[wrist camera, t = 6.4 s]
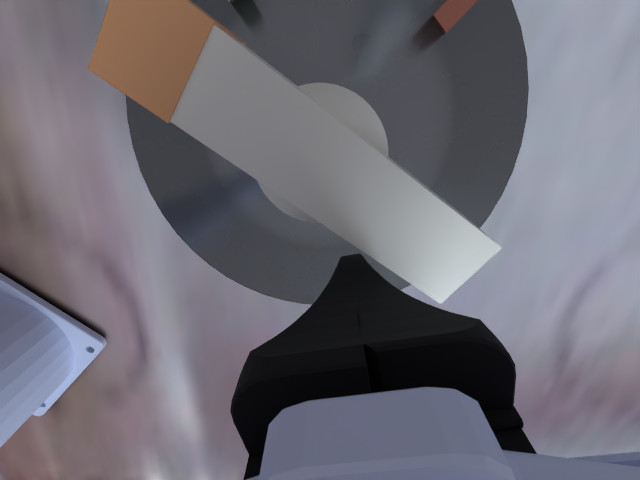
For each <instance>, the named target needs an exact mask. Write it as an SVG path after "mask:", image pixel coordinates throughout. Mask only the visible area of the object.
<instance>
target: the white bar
mask: <svg viewBox="0 0 640 480" xmlns="http://www.w3.org/2000/svg"><path fill="white" fill-rule="evenodd" d="M88 70H90V71H91V72H93V73H94V74H96V75H97V76H98V77H100V78H101V79H103V80H104V81H106V82H107V83H109V84H110V85H112V86H113V87H115V88H116V89H118V90H119V91H121V92H122V93H124V94H125V95H127V96H128V97H130V98H131V99H133V100H134V101H136V102H137V103H139V104H140V105H142V106H143V107H145V108H146V109H148V110H149V111H151V112H152V113H154V114H155V115H156V116H158V117H159V118H161V119H162V120H164V121H165V122H167V123H173V124H175V125H176V126H177V127H179V128H180V129H182V130H183V131H185V132H186V133H188V134H189V135H191V136H192V137H194V138H195V139H197V140H198V141H200V142H201V143H203V144H204V145H206V146H207V147H209V148H210V149H212V150H213V151H215V152H216V153H217V154H219V155H220V156H222V157H223V158H225V159H226V160H228V161H229V162H231V163H232V164H234V165H235V166H237V167H238V168H240V169H241V170H243V171H244V172H246V173H247V174H249V175H250V176H252V177H253V178H255V179H256V180H257V181H258V184H259V186H260V188H261V189H262V191H263V192H264V194H265V195H266V197H267V198H268V199H269V200H270V201H271V202H272V203H273V204H274V205H275V206H276V207H277V208H278V209H280V210H281V211H282V212H284V213H286V214H287V215H289V216H291V217H293V218H296V219H298V220H302V221H305V222H311V223H321V224H323V225H324V226H326V227H327V228H329V229H330V230H332V231H333V232H335V233H336V234H338V235H339V236H341V237H342V238H343V239H345V240H346V241H348V242H349V243H351V244H352V245H354V246H355V247H357V248H358V249H360V250H361V251H363V252H364V253H366V254H367V255H369V256H370V257H372V258H373V259H375V260H376V261H378V262H379V263H381V264H382V265H383V266H385V267H386V268H388V269H389V270H391V271H392V272H394V273H395V274H397V275H398V276H400V277H401V278H403V279H404V280H406V281H407V282H409V283H410V284H412V285H413V286H415V287H416V288H418V289H419V290H421V291H422V292H424V293H425V294H426V295H428V296H429V297H431V298H432V299H434V300H435V301H437V302H438V303H440V304H441V303H442V302H443V301H444V300H446V299H447V298H448V297H449V296H450V295H451V294H452V293H453V292H454V291H455V290H456V289H458V288H459V287H460V286H461V285H462V284H463V283H464V282H465V281H466V280H467V279H469V278H470V277H471V276H472V275H473V274H474V273H475V272H476V271H477V270H478V269H479V268H481V267H482V266H483V265H484V264H485V263H486V262H487V261H488V260H489V259H490V258H492V257H493V256H494V255H495V254H496V253H497V252H498V251H499V250H500V249H501V248H502V247H501V246H499V245H498V244H497V243H496V242H495V241H494V240H492V239H491V238H490V237H489V236H488V235H486V234H485V233H484V232H483V231H482V230H481V229H479V228H478V227H477V226H476V225H475V224H474V223H472V222H471V221H470V220H469V219H468V218H467V217H465V216H464V215H463V214H462V213H460V212H459V211H458V210H456V209H455V208H454V207H453V206H451V205H450V204H449V203H447V202H446V201H445V200H444V199H442V198H441V197H440V196H438V195H437V194H436V193H435V192H433V191H432V190H431V189H429V188H428V187H427V186H426V185H424V184H423V183H422V182H420V181H419V180H418V179H417V178H415V177H414V176H413V175H411V174H410V173H409V172H408V171H406V170H405V169H404V168H402V167H401V166H400V165H399V164H397V163H396V162H395V161H393V160H392V159H391V158H390V157H388V142H387V137H386V133H385V130H384V127H383V125H382V123H381V120H380V119H379V117H378V115H377V114H376V112H375V111H374V110H373V108H372V107H371V106H370V105H369V104H368V103H367V102H366V101H365V100H364V99H363V98H362V97H360V96H359V95H357V94H356V93H355V92H353V91H351V90H349V89H347V88H345V87H342V86H339V85H335V84H330V83H309V84H304V85H300V86H297V85H296V84H294V83H293V82H292V81H291V80H289V79H288V78H287V77H285V76H284V75H283V74H282V73H280V72H279V71H278V70H276V69H275V68H274V67H273V66H271V65H270V64H269V63H267V62H266V61H265V60H264V59H262V58H261V57H260V56H258V55H257V54H256V53H255V52H253V51H252V50H251V49H249V48H248V47H247V46H246V43H245V42H243V41H242V40H241V39H240V38H238V37H237V36H236V35H234V34H233V33H232V32H231V31H229V30H228V29H227V28H225V27H224V26H223V25H222V24H220V23H219V22H218V21H216V20H215V19H214V18H213V17H211V16H210V15H209V14H207V13H206V12H205V11H204V10H202V9H201V8H200V7H198V6H197V5H196V4H195V3H193V2H192V1H191V0H110V1H109V4H108V8H107V11H106V14H105V17H104V20H103V23H102V26H101V29H100V32H99V36H98V39H97V42H96V45H95V48H94V51H93V54H92V57H91V60H90V63H89V67H88Z"/></svg>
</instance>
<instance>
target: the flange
mask: <svg viewBox="0 0 640 480" xmlns="http://www.w3.org/2000/svg"><path fill="white" fill-rule="evenodd" d="M191 1H192V2H193V3H195V4H196V5H197V6H198V7H200V8H201V9H202V10H204V11H205V12H206V13H207V14H209V15H210V16H211V17H213V18H214V19H215V20H216V21H218V22H219V23H220V24H222V25H223V26H224V27H225V28H227V29H228V30H229V31H231V32H232V33H233V34H234V35H236V36H237V37H238V38H240V39H241V40H242V41H243V42H245V43H246V46H247V47H248V48H249V49H251V50H252V51H253V52H255V53H256V54H257V55H258V56H260V57H261V58H262V59H264V60H265V61H266V62H267V63H269V64H270V65H271V66H273V67H274V68H275V69H276V70H278V71H279V72H280V73H282V74H283V75H284V76H285V77H287V78H288V79H289V80H291V81H292V82H293V83H294V84H296V85H297V86H300V85H304V84H309V83H330V84H335V85H339V86H342V87H345V88H347V89H349V90H351V91H353V92H355V93H356V94H357V95H359V96H360V97H362V98H363V99H364V100H365V101H366V102H367V103H368V104H369V105H370V106H371V107H372V108H373V110H374V111H375V112H376V114H377V115H378V117H379V119H380V120H381V123H382V125H383V127H384V130H385V133H386V137H387V142H388V157H390V158H391V159H392V160H393V161H395V162H396V163H397V164H399V165H400V166H401V167H402V168H404V169H405V170H406V171H408V172H409V173H410V174H411V175H413V176H414V177H415V178H417V179H418V180H419V181H420V182H422V183H423V184H424V185H426V186H427V187H428V188H429V189H431V190H432V191H433V192H435V193H436V194H437V195H438V196H440V197H441V198H442V199H444V200H445V201H446V202H447V203H449V204H450V205H451V206H453V207H454V208H455V209H456V210H458V211H459V212H460V213H462V214H463V215H464V216H465V217H467V218H468V219H469V220H470V221H471V222H472V223H474V224H475V225H476V226H477V227H478V228H479V229H480V227H481V226H482V225H483V223H484V222H485V221H486V220H487V218H488V217H489V215H490V214H491V212H492V210H493V209H494V207H495V205H496V204H497V202H498V201H499V199H500V197H501V196H502V193H503V191H504V189H505V187H506V185H507V183H508V180H509V178H510V176H511V174H512V172H513V169H514V166H515V163H516V159H517V156H518V153H519V150H520V147H521V143H522V138H523V133H524V128H525V123H526V118H527V103H528V88H529V87H528V71H527V56H526V51H525V46H524V41H523V36H522V31H521V26H520V23H519V20H518V17H517V15H516V12H515V9H514V6H513V3H512V0H191ZM126 103H127V117H128V124H129V129H130V134H131V139H132V145H133V148H134V152H135V155H136V158H137V161H138V164H139V167H140V171H141V173H142V175H143V177H144V180H145V182H146V184H147V186H148V189H149V191H150V193H151V195H152V197H153V198H154V200H155V202H156V204H157V205H158V207H159V209H160V210H161V212H162V214H163V215H164V217H165V218H166V219H167V221H168V222H169V223H170V225H171V226H172V227H173V229H174V230H175V232H176V233H177V234H178V235H179V236H180V237H181V238H182V239H183V241H184V242H185V243H186V244H187V245H188V246H189V247H190V248H191V249H192V250H193V251H194V252H195V253H196V254H197V255H199V256H200V257H201V258H202V259H203V260H204V261H206V262H207V263H208V264H209V265H210V266H212V267H213V268H215V269H216V270H218V271H219V272H221V273H222V274H223V275H225V276H226V277H228V278H230V279H232V280H234V281H235V282H237V283H239V284H241V285H243V286H245V287H247V288H249V289H252V290H254V291H257V292H259V293H261V294H264V295H267V296H271V297H274V298H278V299H281V300H285V301H291V302H296V303H302V304H314V302H315V301H316V300H317V299H318V297H319V296H320V294H321V293H322V291H323V290H324V288H325V287H326V285H327V284H328V282H329V280H330V278H331V277H332V275H333V273H334V271H335V269H336V267H337V264H338V261H339V259H340V258H341V256H347V255H353V254H359V253H360V254H361V255H363V257H364V258H365V259H366V261H367V262H368V263H369V264H370V265H371V266H372V267H373V269H374V270H376V271H377V272H378V273H379V274H380V275H381V276H382V277H383V278H384V279H385V280H387V281H388V282H389V283H391V284H392V285H393V286H395V287H396V288H397V289H399V290H401V289H403V288H405V287H407V286H409V285H411V284H410V283H409V282H407V281H406V280H404V279H403V278H401V277H400V276H398V275H397V274H395V273H394V272H392V271H391V270H389V269H388V268H386V267H385V266H383V265H382V264H381V263H379V262H378V261H376V260H375V259H373V258H372V257H370V256H369V255H367V254H366V253H364V252H363V251H361V250H360V249H358V248H357V247H355V246H354V245H352V244H351V243H349V242H348V241H346V240H345V239H343V238H342V237H341V236H339V235H338V234H336V233H335V232H333V231H332V230H330V229H329V228H327V227H326V226H324V225H323V224H321V223H311V222H305V221H302V220H298V219H296V218H293V217H291V216H289V215H287V214H286V213H284V212H282V211H281V210H280V209H278V208H277V207H276V206H275V205H274V204H273V203H272V202H271V201H270V200H269V199H268V198H267V197H266V195H265V194H264V192H263V191H262V189H261V188H260V186H259V184H258V181H257V180H256V179H255V178H253V177H252V176H250V175H249V174H247V173H246V172H244V171H243V170H241V169H240V168H238V167H237V166H235V165H234V164H232V163H231V162H229V161H228V160H226V159H225V158H223V157H222V156H220V155H219V154H217V153H216V152H215V151H213V150H212V149H210V148H209V147H207V146H206V145H204V144H203V143H201V142H200V141H198V140H197V139H195V138H194V137H192V136H191V135H189V134H188V133H186V132H185V131H183V130H182V129H180V128H179V127H177V126H176V125H175V124H173V123H167V122H165V121H164V120H162V119H161V118H159V117H158V116H156V115H155V114H154V113H152V112H151V111H149V110H148V109H146V108H145V107H143V106H142V105H140V104H139V103H137V102H136V101H134V100H133V99H131V98H130V97H128V96H127V95H126Z"/></svg>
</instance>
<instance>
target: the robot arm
mask: <svg viewBox="0 0 640 480" xmlns="http://www.w3.org/2000/svg"><path fill="white" fill-rule="evenodd" d="M106 344H107V342H106V340H105V338H104V337H102V336H101V335H99V334H98V333H96V332H95V331H93V330H91V329H90V328H88V327H86V326H85V325H83V324H82V323H80V322H78V321H77V320H75V319H74V318H72V317H70V316H69V315H67V314H66V313H64V312H62V311H61V310H59V309H58V308H56V307H54V306H53V305H51V304H50V303H48V302H46V301H45V300H43V299H42V298H40V297H38V296H37V295H35V294H34V293H32V292H30V291H29V290H27V289H26V288H24V287H22V286H21V285H19V284H18V283H16V282H14V281H13V280H11V279H10V278H8V277H6V276H5V275H3V274H2V273H0V447H1V446H2V445H3V444H4V443H5V442H6V441H7V440H8V439H9V438H10V437H11V436H12V435H13V434H14V433H15V432H16V431H17V430H18V428H19V427H20V426H21V425H22V424H23V423H24V422H25V421H26V420H27V419H28V418H29V417H30V416H31V415H32V414H33V415H35V416H42V415H43V414H44V413H45V412H46V411H47V410H48V409H49V408H50V407H51V406H52V404H53V403H54V402H55V401H56V400H57V399H58V398H59V397H60V396H61V395H62V393H63V392H64V391H65V390H66V389H67V388H68V387H69V386H70V385H71V383H72V382H73V381H74V380H75V379H76V378H77V377H78V376H79V375H80V374H81V372H82V371H83V370H84V369H85V368H86V367H87V366H88V365H89V364H90V362H91V361H92V360H93V359H94V358H95V357H96V356H97V355H98V354H99V353H100V351H101V350H102V349H103V348H104V347H105V346H106ZM515 381H516V371H515V364H514V362H513V360H512V358H511V356H510V354H509V353H508V352H507V350H506V349H505V347H504V346H503V345H502V343H501V342H500V341H499V340H498V339H497V337H496V336H495V335H494V334H493V333H492V332H491V331H490V330H489V329H488V328H487V327H486V326H485V325H484V323H483V322H482V321H481V320H479V319H475V318H471V317H467V316H463V315H459V314H455V313H451V312H448V311H445V310H442V309H439V308H436V307H433V306H431V305H428V304H426V303H424V302H422V301H419V300H417V299H415V298H413V297H411V296H409V295H407V294H405V293H404V292H402V291H401V290H399V289H397V288H396V287H395V286H393V285H392V284H391V283H389V282H388V281H387V280H385V279H384V278H383V277H382V276H381V275H380V274H379V273H378V272H377V271H376V270H374V269H373V267H372V266H371V265H370V264H369V263H368V262H367V261H366V259H365V258H364V257H363V255H361V254H360V253H359V254H353V255H347V256H341V258H340V259H339V261H338V264H337V267H336V269H335V271H334V273H333V275H332V277H331V278H330V280H329V282H328V284H327V285H326V287H325V288H324V290H323V291H322V293H321V294H320V296H319V297H318V299H317V300H316V301H315V302H314V304H313V305H312V306H311V307H310V308H309V309H308V310H307V311H306V312H305V313H304V314H303V315H302V316H301V317H300V318H299V319H297V320H296V321H295V322H294V323H293V324H292V325H290V326H289V327H288V328H287V329H285V330H284V331H282V332H281V333H280V334H278V335H277V336H275V337H274V338H272V339H271V340H269V341H267V342H266V343H264V344H262V345H261V346H259V347H257V348H256V349H254V350H252V351H250V353H249V356H248V358H247V360H246V362H245V364H244V367H243V369H242V372H241V374H240V377H239V380H238V383H237V386H236V389H235V392H234V396H233V399H232V403H231V415H232V418H233V422H234V424H235V426H236V428H237V430H238V432H239V434H240V436H241V439H242V441H243V443H244V445H245V447H246V449H247V451H248V453H249V458H248V463H247V467H246V472H245V476H244V480H640V452H630V453H619V454H608V455H597V456H586V457H574V458H563V457H555V456H547V455H539V454H536V452H535V450H534V449H533V447H532V445H531V443H530V442H529V440H528V438H527V437H526V435H525V433H524V432H523V430H522V428H523V421H522V419H521V417H520V415H519V414H518V412H517V411H516V409H515V407H514V406H513V404H514V393H515Z"/></svg>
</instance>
